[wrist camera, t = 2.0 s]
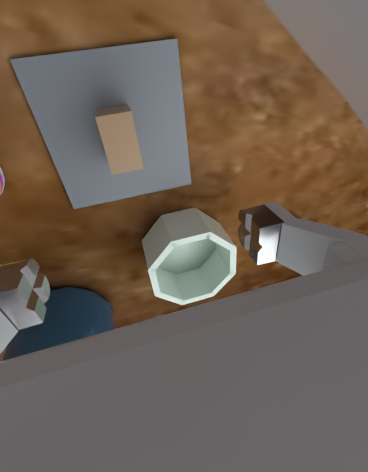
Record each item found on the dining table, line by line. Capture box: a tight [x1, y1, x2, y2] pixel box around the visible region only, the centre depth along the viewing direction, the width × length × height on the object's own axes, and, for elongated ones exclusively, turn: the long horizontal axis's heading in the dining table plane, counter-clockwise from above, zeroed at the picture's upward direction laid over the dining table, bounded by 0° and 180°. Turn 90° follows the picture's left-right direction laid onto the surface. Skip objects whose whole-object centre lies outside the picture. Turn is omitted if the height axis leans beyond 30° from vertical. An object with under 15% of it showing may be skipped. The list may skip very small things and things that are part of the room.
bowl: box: [142, 207, 236, 305], centre depth 33 cm, size 11×11×6 cm
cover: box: [10, 39, 191, 209], centre depth 24 cm, size 14×14×5 cm
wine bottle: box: [3, 286, 115, 361], centre depth 26 cm, size 14×13×30 cm
